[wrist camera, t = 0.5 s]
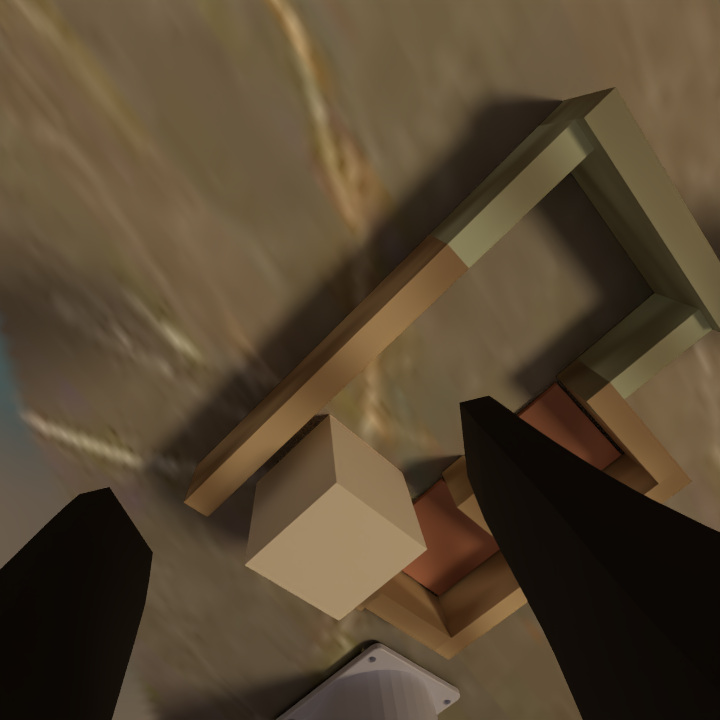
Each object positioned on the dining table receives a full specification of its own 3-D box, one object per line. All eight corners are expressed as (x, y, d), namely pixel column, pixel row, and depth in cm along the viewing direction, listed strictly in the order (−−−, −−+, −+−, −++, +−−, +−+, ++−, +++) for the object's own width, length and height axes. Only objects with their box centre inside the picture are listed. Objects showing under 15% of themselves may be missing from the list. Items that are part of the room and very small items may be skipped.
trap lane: (432, 620, 27) (447, 672, 24) (196, 465, 21) (180, 510, 18) (746, 380, 23) (808, 409, 20) (563, 100, 17) (615, 87, 14)
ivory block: (331, 532, 23) (338, 620, 19) (257, 481, 22) (244, 565, 17) (402, 471, 22) (427, 549, 18) (329, 412, 21) (336, 482, 16)
